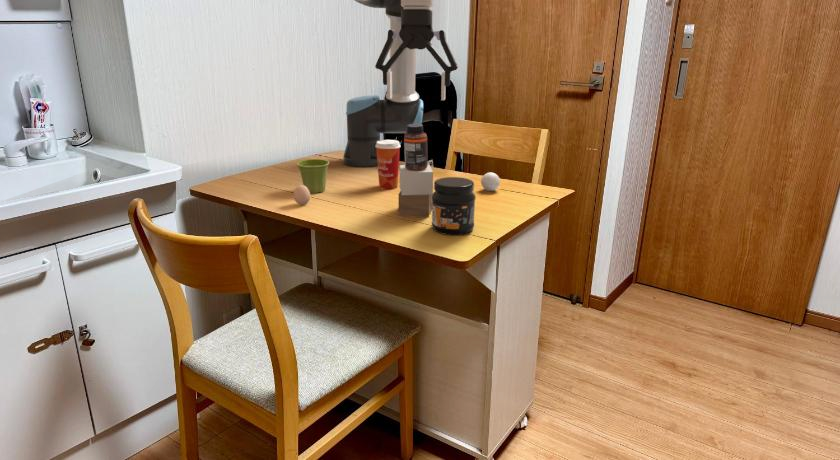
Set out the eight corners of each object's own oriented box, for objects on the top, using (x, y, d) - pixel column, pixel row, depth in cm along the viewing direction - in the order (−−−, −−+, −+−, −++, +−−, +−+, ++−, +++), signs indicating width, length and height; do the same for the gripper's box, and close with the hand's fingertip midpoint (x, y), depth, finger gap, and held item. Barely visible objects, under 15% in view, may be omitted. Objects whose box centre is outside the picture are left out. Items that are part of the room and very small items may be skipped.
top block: (399, 186, 156) (399, 165, 154) (428, 186, 157) (429, 164, 155) (402, 195, 149) (401, 172, 146) (432, 194, 149) (433, 171, 147)
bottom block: (403, 206, 159) (403, 185, 157) (432, 208, 158) (432, 187, 156) (398, 215, 152) (398, 194, 150) (428, 217, 150) (429, 195, 148)
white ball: (481, 187, 178) (482, 169, 176) (499, 188, 177) (500, 170, 175) (479, 194, 171) (479, 176, 169) (498, 195, 170) (499, 177, 168)
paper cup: (370, 186, 178) (369, 141, 173) (388, 182, 183) (388, 138, 178) (388, 191, 173) (388, 145, 168) (406, 186, 178) (406, 141, 173)
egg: (291, 204, 160) (290, 184, 158) (306, 201, 163) (305, 182, 161) (298, 208, 157) (297, 188, 155) (313, 205, 159) (312, 185, 158)
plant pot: (324, 196, 168) (322, 167, 165) (293, 194, 170) (291, 165, 167) (335, 187, 176) (333, 159, 174) (306, 185, 178) (304, 158, 175)
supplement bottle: (416, 164, 155) (416, 121, 151) (432, 168, 150) (432, 124, 146) (400, 168, 151) (398, 125, 147) (415, 172, 147) (414, 128, 143)
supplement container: (423, 231, 141) (423, 183, 136) (444, 219, 149) (445, 174, 145) (461, 239, 135) (463, 190, 131) (481, 226, 144) (483, 180, 140)
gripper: (361, 7, 136) (364, 99, 143) (467, 8, 132) (464, 102, 140) (369, 8, 143) (371, 96, 150) (469, 9, 139) (466, 98, 147)
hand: (416, 99), depth 145 cm, fingers open, 13 cm apart
